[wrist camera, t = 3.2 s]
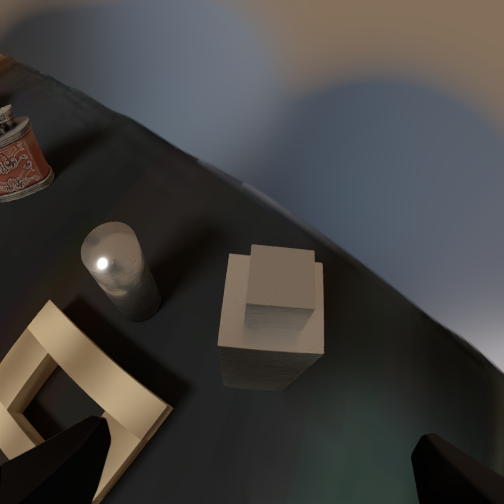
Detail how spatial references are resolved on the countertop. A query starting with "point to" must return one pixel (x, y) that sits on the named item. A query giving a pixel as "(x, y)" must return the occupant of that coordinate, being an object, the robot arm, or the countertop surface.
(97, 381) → the socket block
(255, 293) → the square bit
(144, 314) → the round peg
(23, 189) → the lighter
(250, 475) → the countertop surface
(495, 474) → the robot arm
